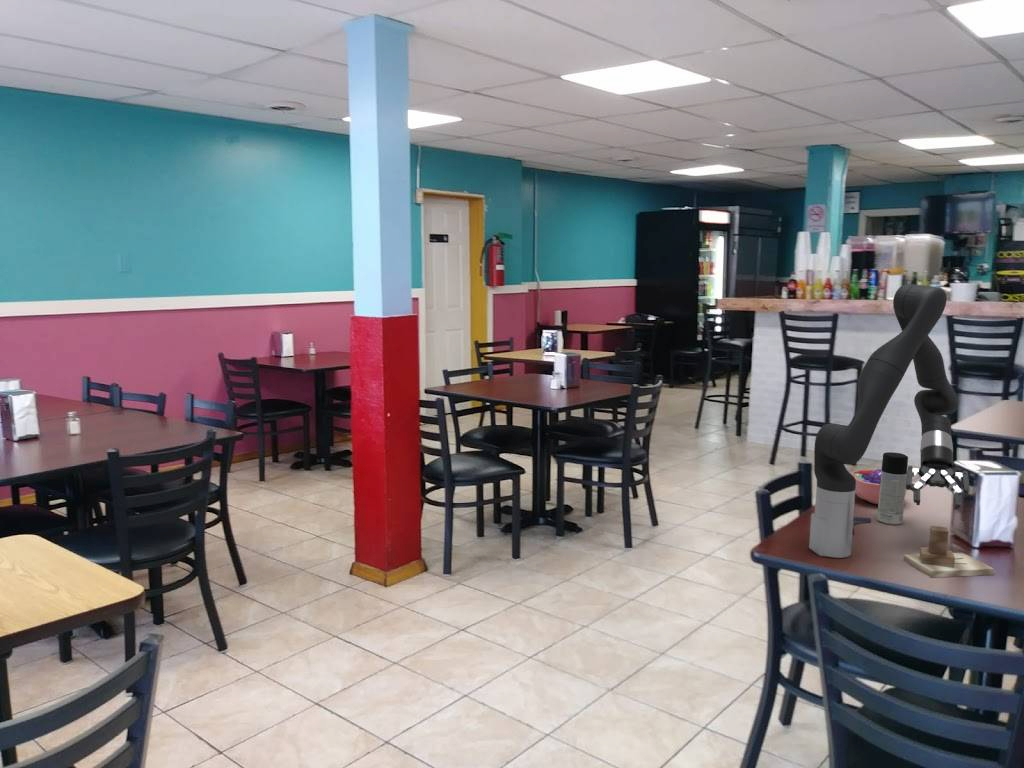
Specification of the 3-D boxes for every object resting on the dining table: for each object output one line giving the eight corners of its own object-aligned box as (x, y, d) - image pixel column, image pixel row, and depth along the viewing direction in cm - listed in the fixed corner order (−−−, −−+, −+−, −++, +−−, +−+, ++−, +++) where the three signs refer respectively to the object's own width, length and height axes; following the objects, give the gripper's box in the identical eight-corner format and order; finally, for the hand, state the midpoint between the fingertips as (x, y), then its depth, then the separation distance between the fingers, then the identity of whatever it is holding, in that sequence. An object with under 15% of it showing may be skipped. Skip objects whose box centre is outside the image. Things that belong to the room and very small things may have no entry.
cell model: (911, 498, 251) (914, 464, 249) (904, 514, 234) (907, 478, 233) (854, 490, 260) (856, 457, 258) (843, 505, 243) (846, 470, 241)
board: (931, 577, 186) (931, 571, 186) (903, 560, 197) (903, 554, 196) (993, 574, 188) (994, 568, 188) (962, 558, 199) (962, 552, 198)
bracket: (823, 535, 217) (824, 525, 217) (817, 518, 232) (817, 509, 231) (879, 540, 214) (880, 530, 213) (869, 523, 228) (870, 514, 228)
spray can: (896, 518, 231) (901, 451, 228) (907, 525, 224) (912, 457, 221) (873, 517, 231) (878, 451, 228) (883, 525, 224) (888, 457, 221)
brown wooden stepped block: (921, 563, 191) (924, 529, 189) (919, 556, 195) (922, 523, 194) (953, 567, 188) (957, 533, 187) (951, 560, 193) (954, 527, 191)
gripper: (907, 441, 206) (907, 495, 197) (969, 446, 200) (972, 501, 192) (905, 457, 212) (904, 509, 203) (965, 462, 206) (967, 516, 197)
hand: (937, 505), depth 197 cm, fingers open, 8 cm apart
